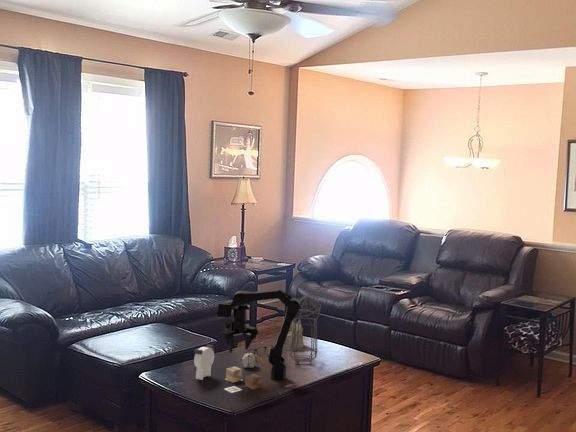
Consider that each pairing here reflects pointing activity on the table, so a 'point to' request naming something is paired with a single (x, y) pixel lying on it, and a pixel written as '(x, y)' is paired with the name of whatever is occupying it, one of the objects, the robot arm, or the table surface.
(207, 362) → the white rounded piece
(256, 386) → the walnut block
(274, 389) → the table surface
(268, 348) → the eyeglasses
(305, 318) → the geometric lantern
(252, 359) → the game die
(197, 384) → the table surface
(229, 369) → the oak block
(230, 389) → the board
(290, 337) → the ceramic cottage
